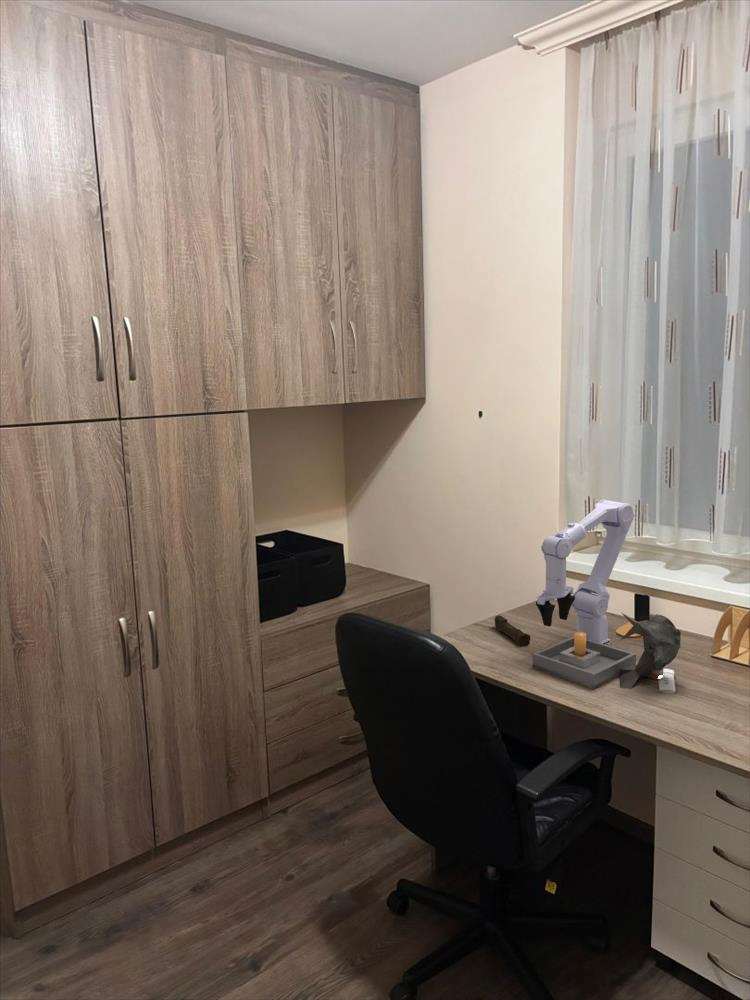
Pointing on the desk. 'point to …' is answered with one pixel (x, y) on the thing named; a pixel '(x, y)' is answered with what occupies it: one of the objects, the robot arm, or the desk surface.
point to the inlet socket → (580, 658)
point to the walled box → (591, 675)
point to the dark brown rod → (511, 631)
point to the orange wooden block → (580, 644)
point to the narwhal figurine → (651, 648)
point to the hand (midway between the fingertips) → (555, 622)
